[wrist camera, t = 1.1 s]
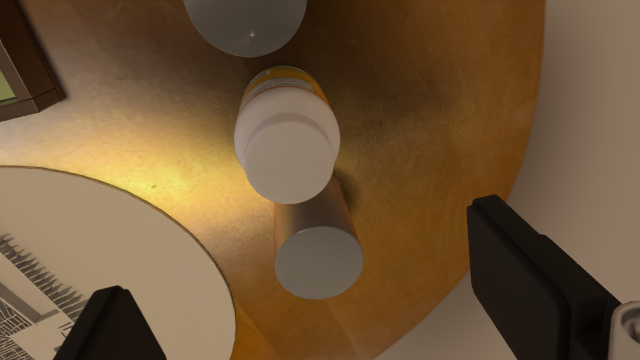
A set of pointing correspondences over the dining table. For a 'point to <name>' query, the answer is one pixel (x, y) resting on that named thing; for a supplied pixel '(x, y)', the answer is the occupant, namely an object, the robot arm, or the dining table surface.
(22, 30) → the divided wooden tray
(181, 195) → the dining table surface
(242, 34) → the grey jar
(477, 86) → the dining table surface
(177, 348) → the plate
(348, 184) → the dining table surface
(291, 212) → the grey jar
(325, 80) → the dining table surface
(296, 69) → the supplement bottle
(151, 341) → the robot arm
